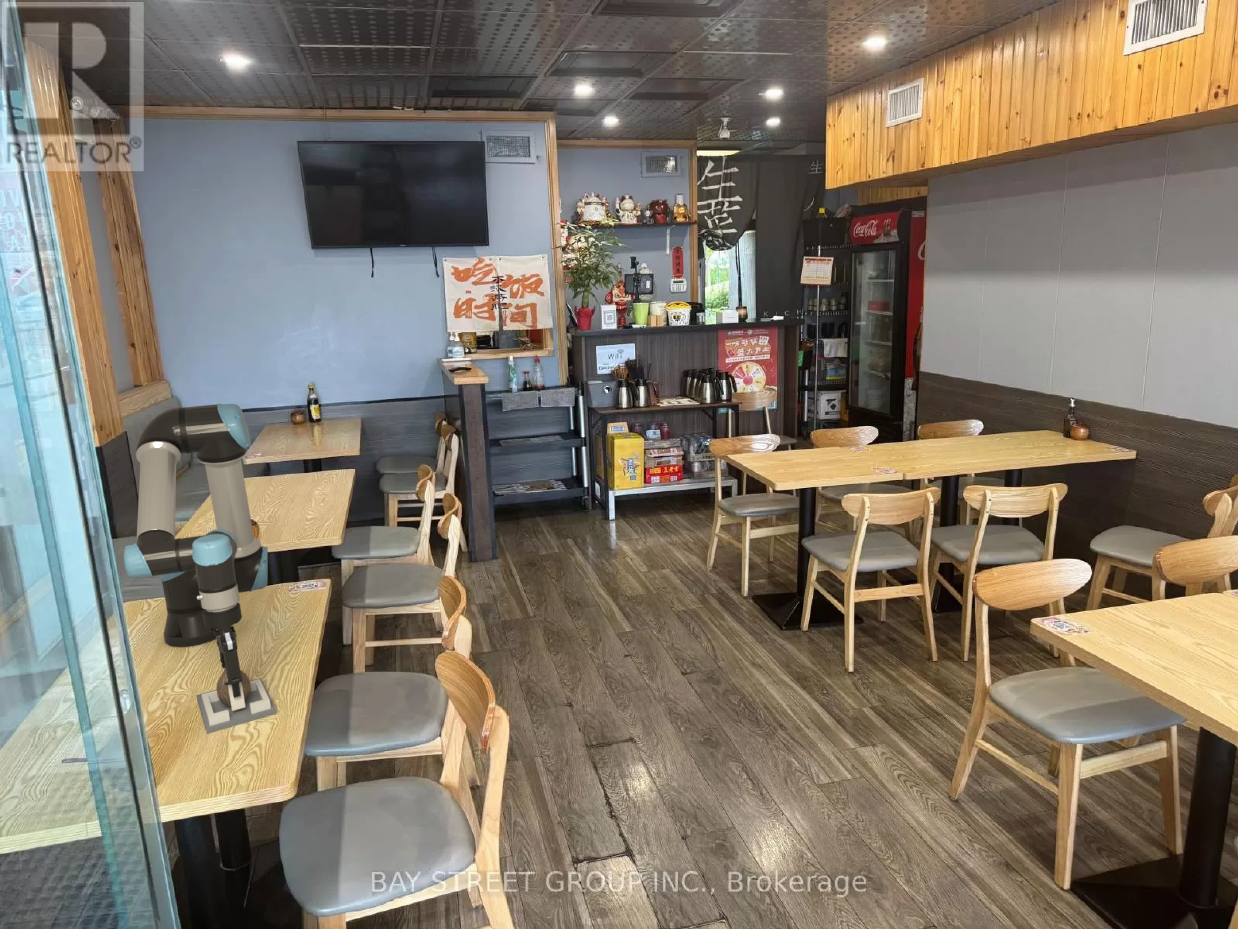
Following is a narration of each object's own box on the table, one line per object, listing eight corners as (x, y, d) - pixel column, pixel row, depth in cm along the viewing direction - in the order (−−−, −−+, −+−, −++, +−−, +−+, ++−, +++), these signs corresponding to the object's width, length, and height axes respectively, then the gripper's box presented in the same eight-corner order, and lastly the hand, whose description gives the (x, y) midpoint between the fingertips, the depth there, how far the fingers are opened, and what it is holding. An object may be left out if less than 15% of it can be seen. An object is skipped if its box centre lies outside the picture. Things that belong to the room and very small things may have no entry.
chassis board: (197, 699, 193) (195, 687, 192) (261, 682, 200) (259, 670, 199) (206, 733, 178) (204, 720, 177) (276, 713, 185) (274, 700, 184)
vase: (243, 691, 191) (238, 656, 189) (258, 701, 187) (253, 665, 185) (213, 704, 186) (207, 668, 184) (228, 714, 182) (222, 677, 180)
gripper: (196, 596, 188) (211, 689, 193) (207, 625, 171) (224, 725, 177) (232, 588, 192) (246, 679, 197) (246, 616, 175) (261, 714, 180)
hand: (235, 701), depth 187 cm, fingers closed on vase, 7 cm apart
